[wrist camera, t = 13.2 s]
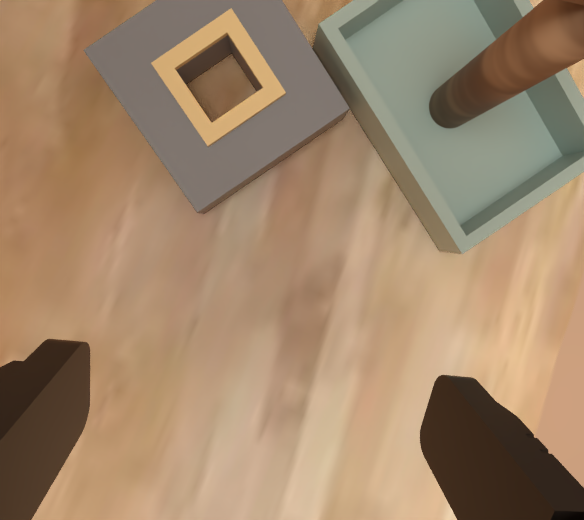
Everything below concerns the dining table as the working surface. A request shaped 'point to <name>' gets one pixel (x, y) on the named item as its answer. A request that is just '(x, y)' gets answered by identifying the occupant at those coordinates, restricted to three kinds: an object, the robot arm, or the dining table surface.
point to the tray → (461, 140)
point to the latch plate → (197, 59)
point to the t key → (513, 62)
